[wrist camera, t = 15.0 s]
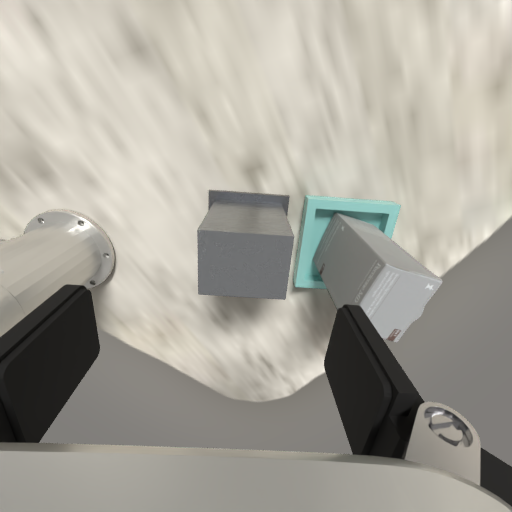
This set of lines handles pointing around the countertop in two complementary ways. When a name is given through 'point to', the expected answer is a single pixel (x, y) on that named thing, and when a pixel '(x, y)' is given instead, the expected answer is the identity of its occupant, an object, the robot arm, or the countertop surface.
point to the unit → (245, 245)
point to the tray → (317, 220)
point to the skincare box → (373, 275)
